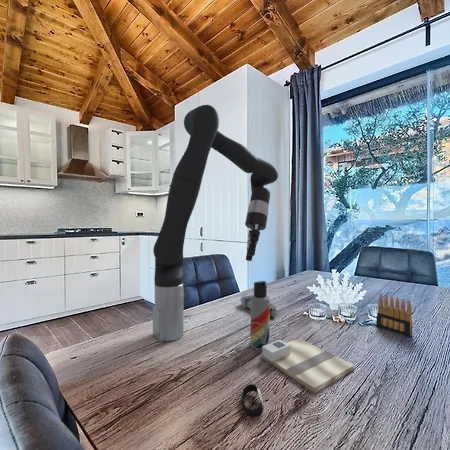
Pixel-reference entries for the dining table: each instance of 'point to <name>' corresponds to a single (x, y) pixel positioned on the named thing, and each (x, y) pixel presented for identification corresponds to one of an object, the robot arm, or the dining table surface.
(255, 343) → the lotion bottle
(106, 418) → the dining table surface
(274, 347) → the block
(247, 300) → the handheld device
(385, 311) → the ammunition clip
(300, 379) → the plywood panel
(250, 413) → the watch
